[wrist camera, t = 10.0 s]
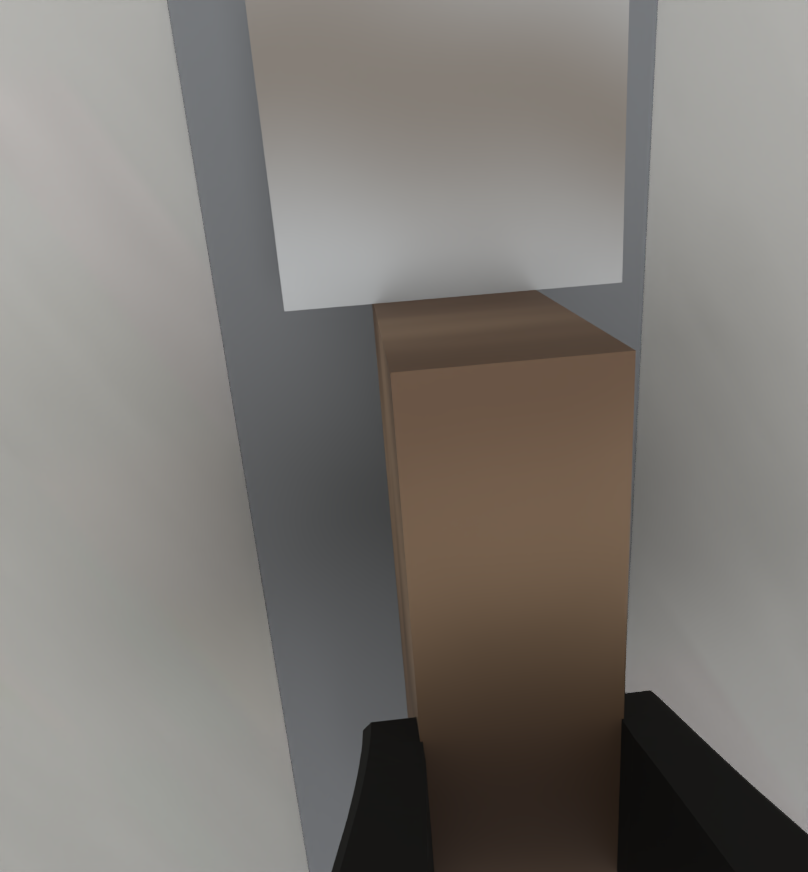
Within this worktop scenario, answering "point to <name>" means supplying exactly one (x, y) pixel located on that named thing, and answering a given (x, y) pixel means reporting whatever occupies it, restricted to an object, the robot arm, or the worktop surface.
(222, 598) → the worktop surface
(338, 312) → the mat
